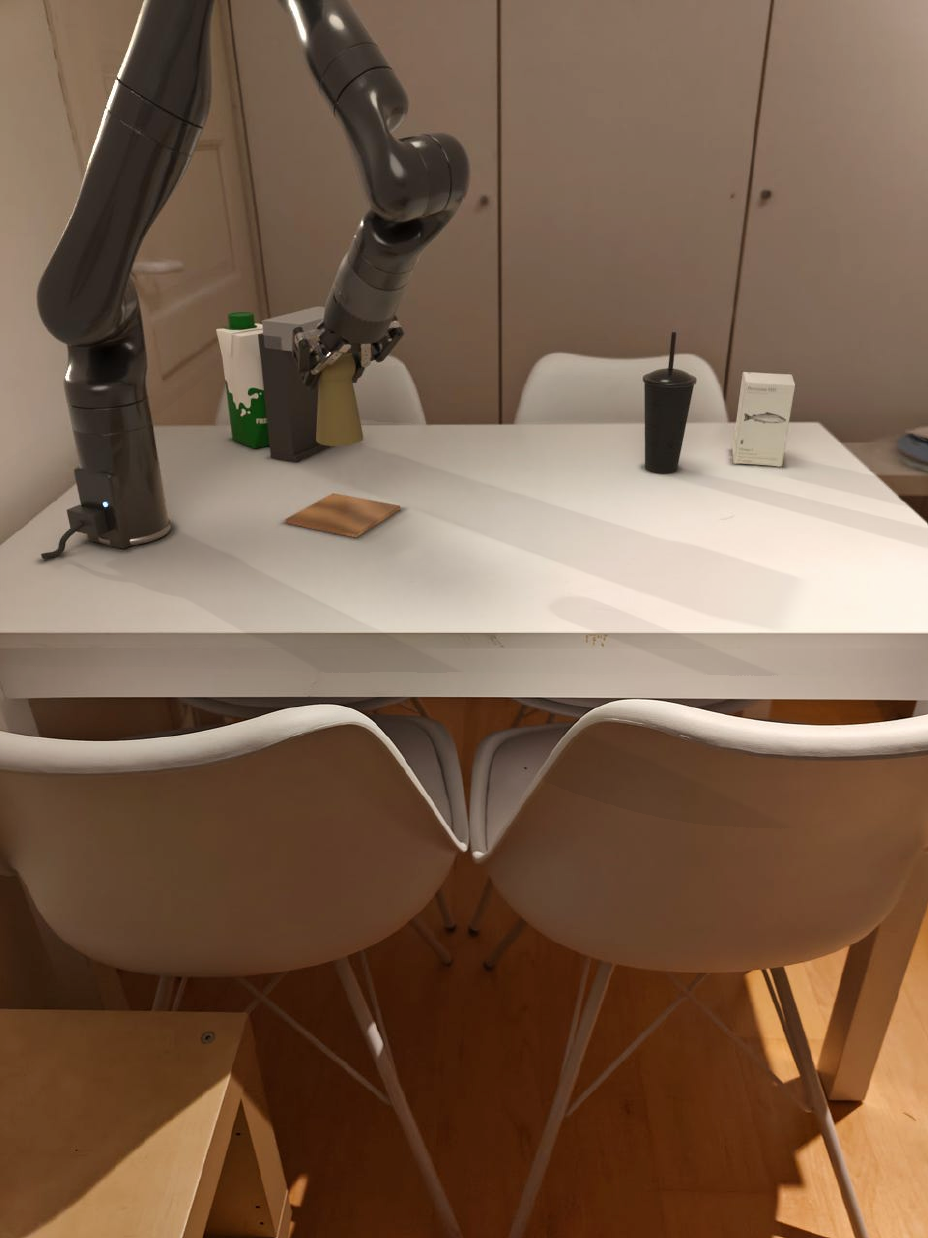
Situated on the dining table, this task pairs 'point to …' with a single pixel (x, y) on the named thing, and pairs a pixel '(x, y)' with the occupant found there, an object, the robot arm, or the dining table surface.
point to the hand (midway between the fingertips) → (329, 380)
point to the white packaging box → (763, 418)
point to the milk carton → (244, 379)
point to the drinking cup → (666, 414)
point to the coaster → (343, 515)
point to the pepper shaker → (338, 404)
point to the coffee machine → (288, 388)
